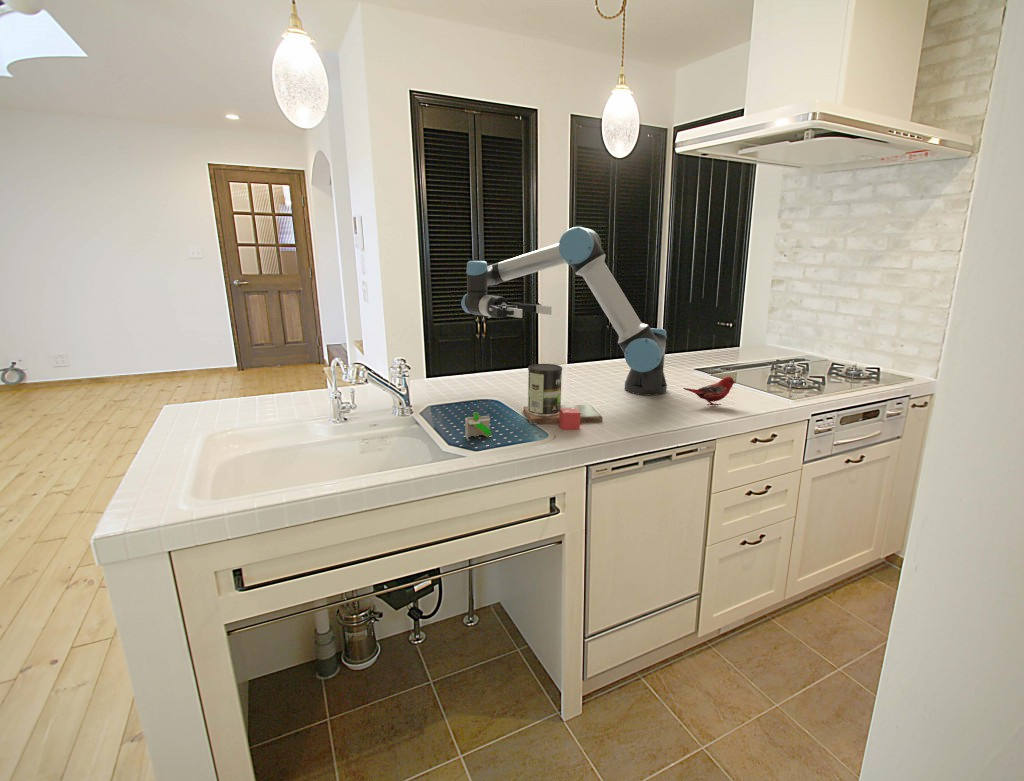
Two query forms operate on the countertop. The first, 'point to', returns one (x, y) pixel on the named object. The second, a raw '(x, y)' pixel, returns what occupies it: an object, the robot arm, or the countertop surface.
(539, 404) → the coffee can
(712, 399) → the decorative bird figurine
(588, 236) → the robot arm
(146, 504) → the countertop surface
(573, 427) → the red cube
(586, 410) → the green brown wooden board
